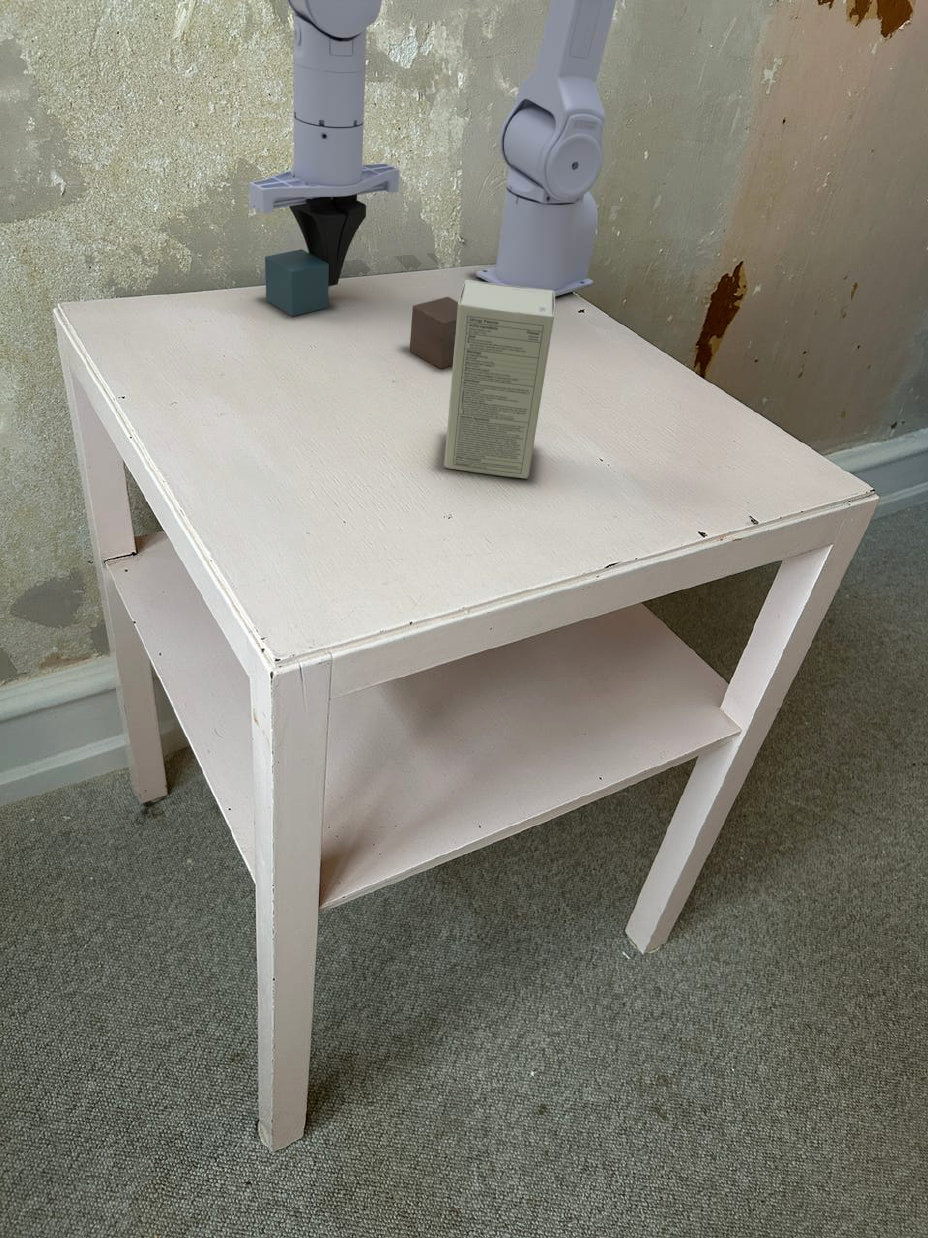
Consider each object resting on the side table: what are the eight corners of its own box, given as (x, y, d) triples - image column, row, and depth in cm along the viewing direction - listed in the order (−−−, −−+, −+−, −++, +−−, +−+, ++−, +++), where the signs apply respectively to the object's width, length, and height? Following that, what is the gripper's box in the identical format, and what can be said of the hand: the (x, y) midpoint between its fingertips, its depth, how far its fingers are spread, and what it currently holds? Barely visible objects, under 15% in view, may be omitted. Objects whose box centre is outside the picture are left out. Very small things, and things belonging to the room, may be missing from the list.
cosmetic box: (530, 450, 70) (559, 289, 62) (528, 482, 67) (557, 316, 59) (446, 438, 70) (464, 276, 62) (439, 469, 67) (457, 301, 59)
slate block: (302, 292, 88) (301, 248, 85) (328, 307, 86) (329, 263, 83) (265, 300, 85) (264, 256, 83) (292, 316, 83) (291, 271, 81)
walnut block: (443, 340, 83) (447, 296, 80) (474, 358, 81) (480, 313, 78) (409, 350, 81) (412, 305, 78) (440, 369, 79) (445, 323, 76)
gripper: (366, 100, 84) (360, 254, 93) (225, 112, 75) (233, 280, 84) (419, 120, 80) (407, 278, 89) (277, 136, 72) (279, 309, 81)
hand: (326, 281), depth 86 cm, fingers closed
